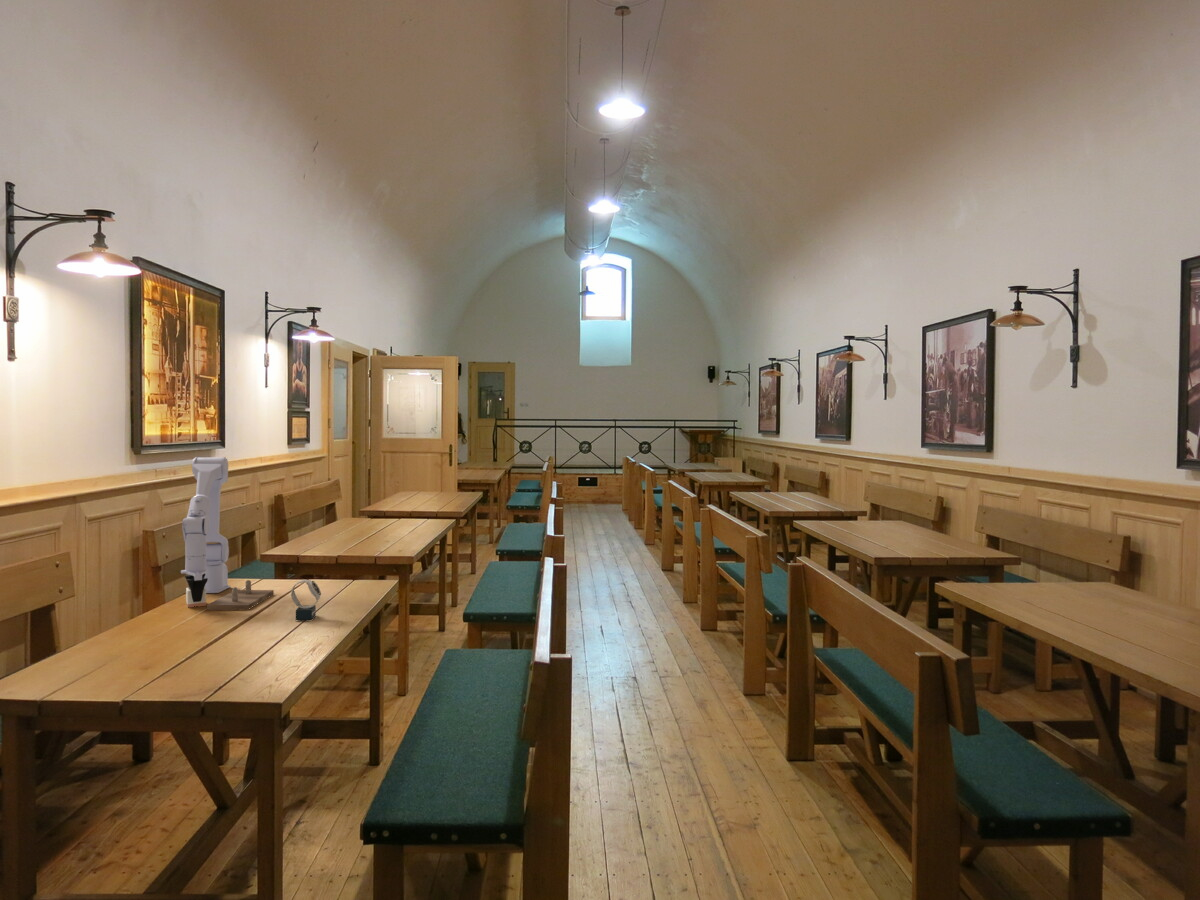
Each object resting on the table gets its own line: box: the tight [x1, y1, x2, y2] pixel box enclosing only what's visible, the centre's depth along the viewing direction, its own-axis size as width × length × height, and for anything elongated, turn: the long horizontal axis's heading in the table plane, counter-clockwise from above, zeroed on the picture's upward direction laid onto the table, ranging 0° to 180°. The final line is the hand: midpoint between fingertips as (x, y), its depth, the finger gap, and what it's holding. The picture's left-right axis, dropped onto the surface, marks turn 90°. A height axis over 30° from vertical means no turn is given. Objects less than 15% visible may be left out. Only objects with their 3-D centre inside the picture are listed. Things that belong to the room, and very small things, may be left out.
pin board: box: [206, 579, 274, 611], centre depth 240 cm, size 20×12×6 cm, turn 3°
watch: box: [290, 579, 322, 622], centre depth 222 cm, size 6×8×11 cm
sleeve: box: [185, 587, 207, 608], centre depth 235 cm, size 5×5×5 cm
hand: (196, 599), depth 235 cm, fingers closed on sleeve, 5 cm apart
